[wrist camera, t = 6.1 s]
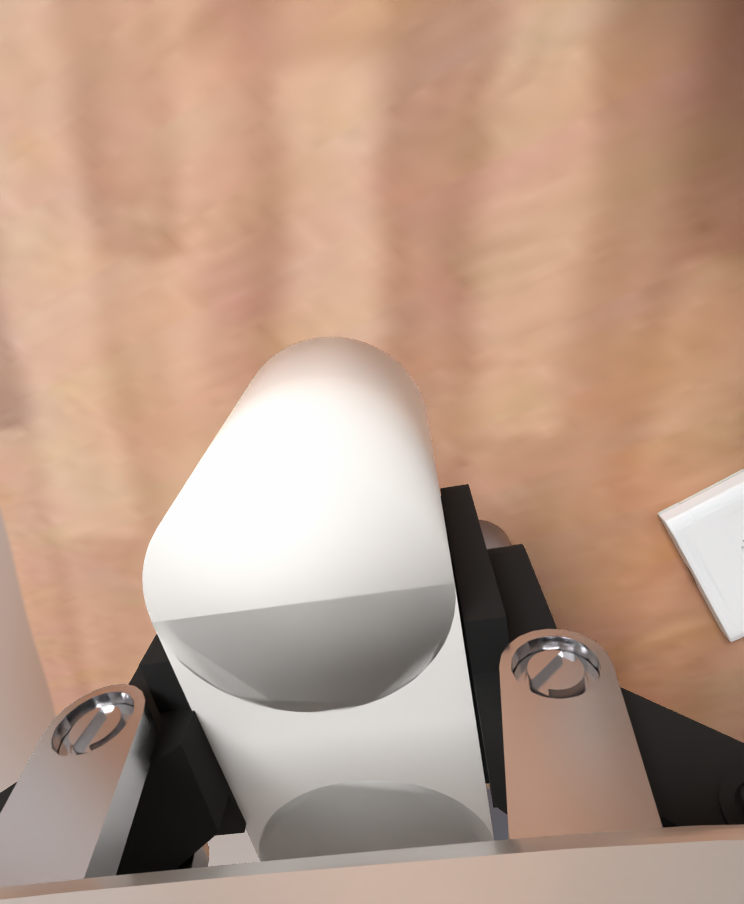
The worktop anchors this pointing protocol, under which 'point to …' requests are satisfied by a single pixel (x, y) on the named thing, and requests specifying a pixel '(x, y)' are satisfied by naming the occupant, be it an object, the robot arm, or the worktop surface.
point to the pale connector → (324, 612)
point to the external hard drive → (714, 547)
